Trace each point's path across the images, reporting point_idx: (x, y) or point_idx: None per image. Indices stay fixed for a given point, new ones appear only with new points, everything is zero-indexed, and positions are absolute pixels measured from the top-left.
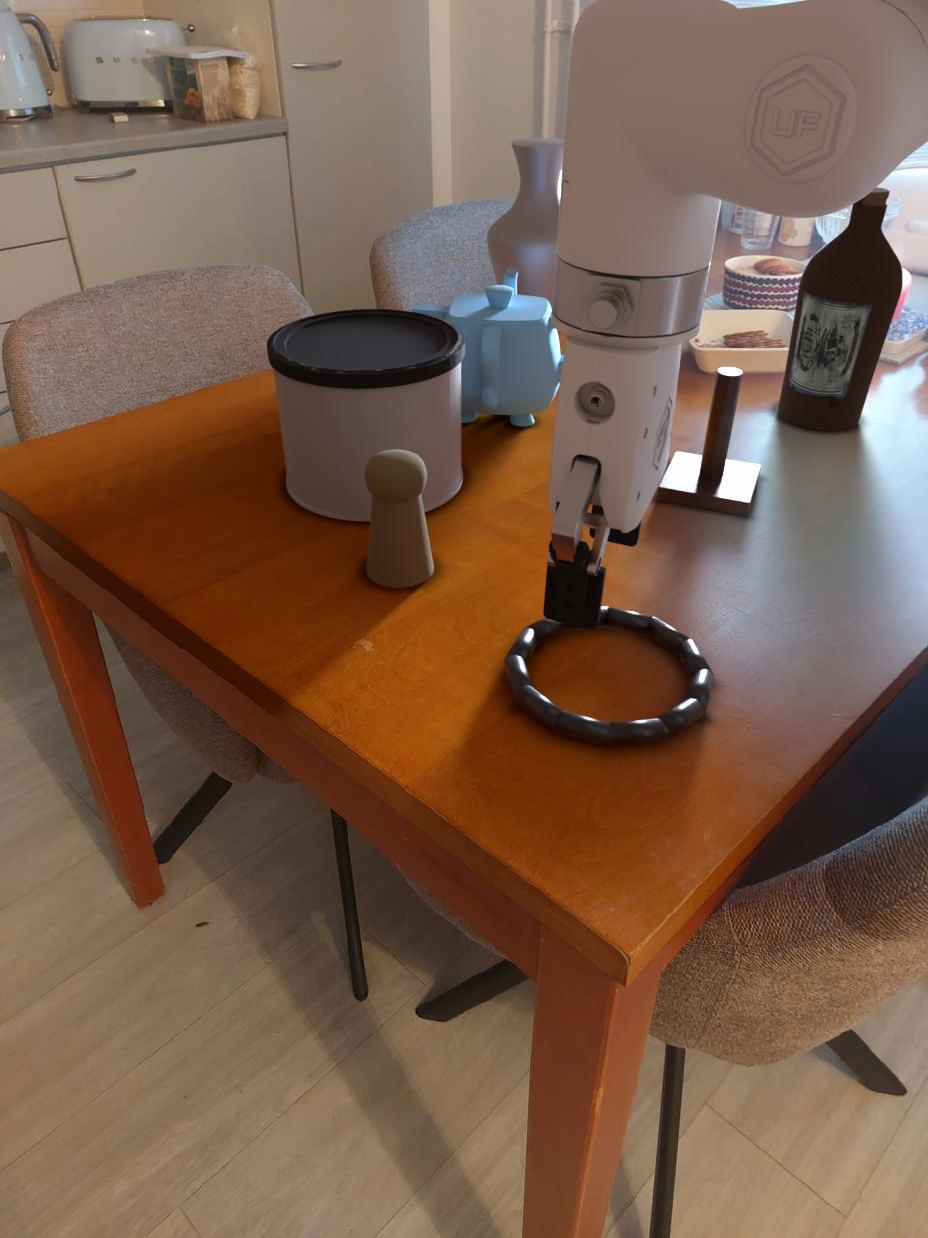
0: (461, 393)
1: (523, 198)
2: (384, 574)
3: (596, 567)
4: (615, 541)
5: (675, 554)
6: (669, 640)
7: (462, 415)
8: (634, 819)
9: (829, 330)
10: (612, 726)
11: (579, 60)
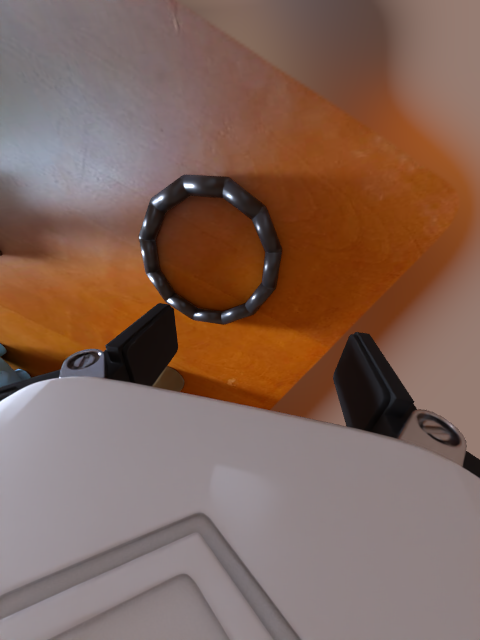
0: None
1: None
2: (180, 387)
3: (465, 440)
4: (174, 326)
5: (52, 230)
6: (159, 221)
7: (23, 376)
8: (346, 217)
9: None
10: (272, 250)
11: None
